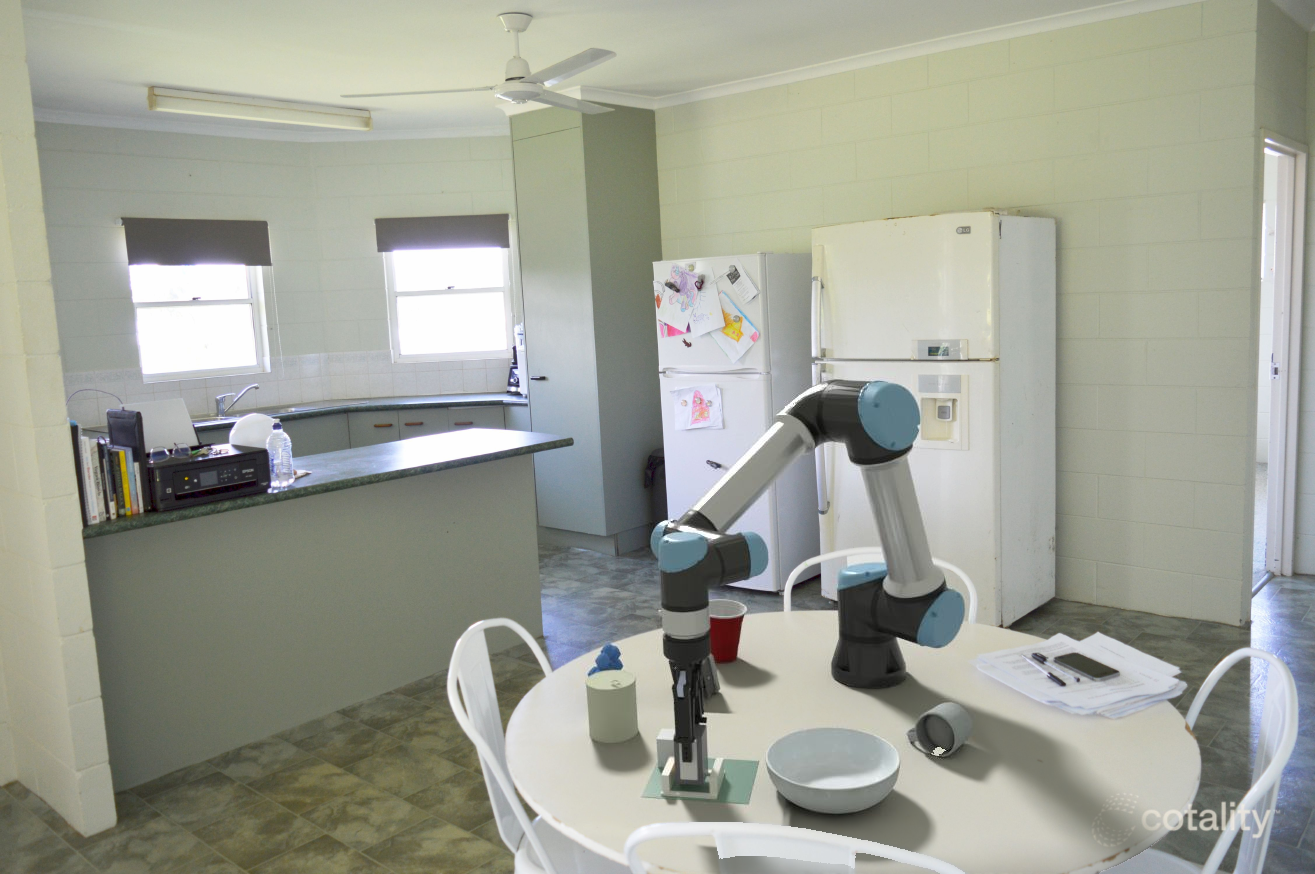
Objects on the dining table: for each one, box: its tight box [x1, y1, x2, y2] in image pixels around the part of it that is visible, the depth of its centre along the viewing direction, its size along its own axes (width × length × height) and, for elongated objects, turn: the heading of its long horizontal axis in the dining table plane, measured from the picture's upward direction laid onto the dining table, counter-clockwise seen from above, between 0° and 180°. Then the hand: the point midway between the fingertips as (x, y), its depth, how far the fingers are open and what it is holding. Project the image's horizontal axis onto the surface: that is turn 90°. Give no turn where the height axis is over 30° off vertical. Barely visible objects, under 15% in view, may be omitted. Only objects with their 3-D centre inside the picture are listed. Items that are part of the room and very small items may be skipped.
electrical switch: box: [668, 653, 721, 699], centre depth 195 cm, size 9×5×9 cm, turn 57°
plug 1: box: [655, 728, 675, 768], centre depth 163 cm, size 4×4×5 cm
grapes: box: [587, 643, 624, 678], centre depth 192 cm, size 12×7×12 cm, turn 161°
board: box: [640, 755, 760, 805], centre depth 158 cm, size 17×14×4 cm
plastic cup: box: [708, 598, 748, 664], centre depth 212 cm, size 11×11×12 cm
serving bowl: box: [764, 726, 902, 814], centre depth 153 cm, size 21×21×7 cm
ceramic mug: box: [906, 701, 974, 758], centre depth 168 cm, size 11×8×8 cm
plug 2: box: [673, 724, 709, 785], centre depth 155 cm, size 5×4×8 cm
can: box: [585, 669, 639, 744], centre depth 176 cm, size 9×9×12 cm
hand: (692, 770), depth 156 cm, fingers closed on plug 2, 4 cm apart
